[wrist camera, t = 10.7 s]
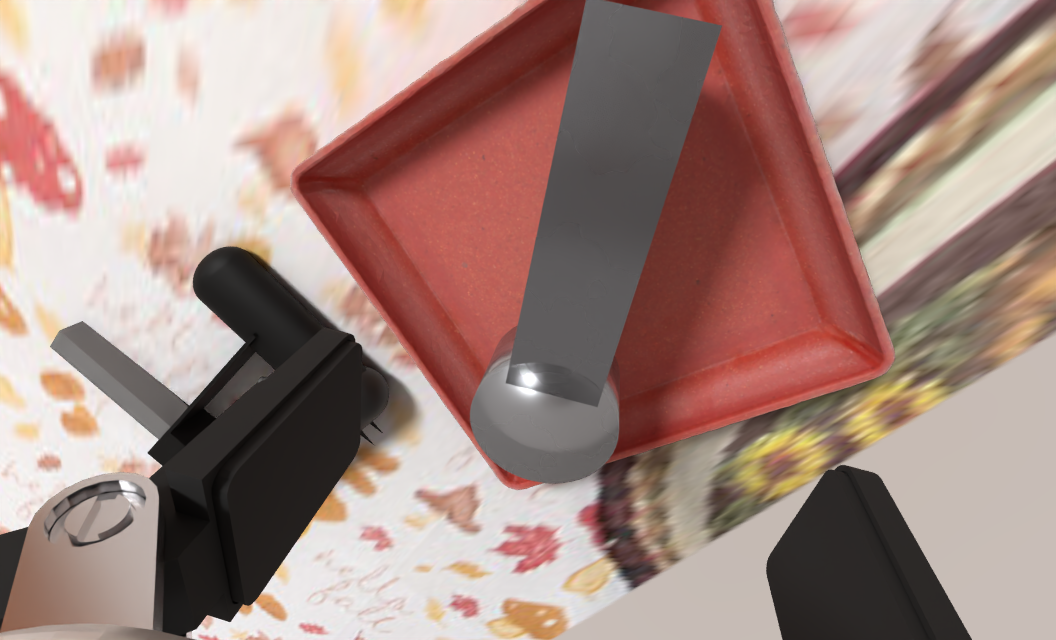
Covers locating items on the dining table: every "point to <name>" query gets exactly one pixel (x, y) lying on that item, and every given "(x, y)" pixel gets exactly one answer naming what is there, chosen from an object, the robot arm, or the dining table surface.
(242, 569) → the robot arm
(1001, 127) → the dining table surface
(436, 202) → the plant saucer
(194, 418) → the door handle
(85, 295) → the dining table surface
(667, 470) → the dining table surface
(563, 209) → the ball joint lever
